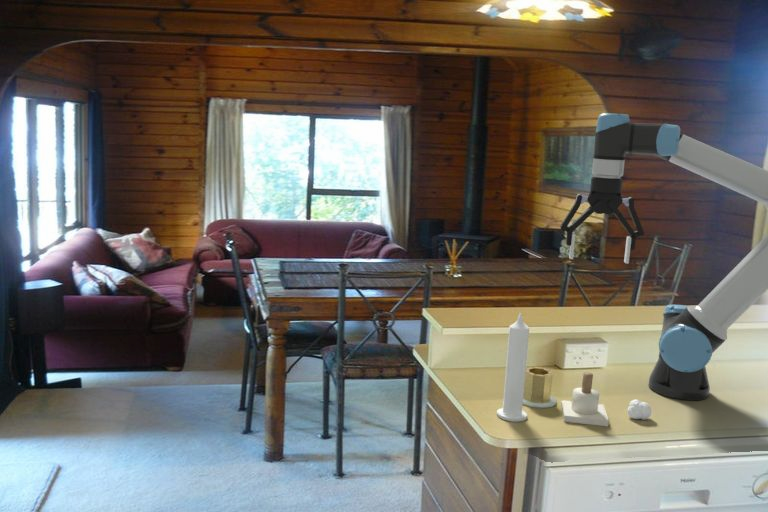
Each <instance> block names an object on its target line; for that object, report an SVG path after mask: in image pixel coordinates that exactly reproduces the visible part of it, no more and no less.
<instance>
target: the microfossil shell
mask: <svg viewBox="0 0 768 512" xmlns="http://www.w3.org/2000/svg"><path fill="white" fill-rule="evenodd" d="M626 412H627V415H628V416H629V417H630V419H634V420H639V419H641V420H643V421H644V420H648V419H649V418H650V417H651V416H652V415H651V414H652V408H651V405H649V403H647V402H646V401H641V400H640V399H632V400H630V402H629V405H628V408H627V411H626Z"/></svg>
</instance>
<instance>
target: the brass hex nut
mask: <svg viewBox="0 0 768 512" xmlns="http://www.w3.org/2000/svg"><path fill="white" fill-rule="evenodd" d="M553 375H554V374H553V371H552V370H550V369H548V368H545V367H539V366H529V367H526V372H525V383H524V395H523V399H525V400H527V401H529V402H532V403H547V402H550V397H551V395H552V384H553Z"/></svg>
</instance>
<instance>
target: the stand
mask: <svg viewBox="0 0 768 512" xmlns="http://www.w3.org/2000/svg"><path fill="white" fill-rule="evenodd" d="M593 378H594V374H593V373H592V372H586V371H585V372H583V373H582V384H581V387H576V388H574V389H573V390H572V400H564V399H563V400H562V399H561V403H560V407H561V413H562V419H563V422H564V423H573V424H582V425H592V426H593V425H594V426H601V427H609V423H610V422H609V421H610V420H609V416H608V414H607V411H606V407H605V404H603V403H602V404H601V403H599V401H600V392H599V391H598V390H596V389H593V388H592V387H593Z"/></svg>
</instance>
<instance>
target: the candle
mask: <svg viewBox="0 0 768 512" xmlns="http://www.w3.org/2000/svg"><path fill="white" fill-rule="evenodd" d="M508 328H509V330H508V339H507V353H506V354H507V355H506V365H505V375H504V376H505V378H504V388H503V389H504V390H503V400H502V401H503V402H502V407H500V408H498V409H497V411H496V415H497V417H498V418H499V419H502V420H504V421H506V422H507V421H508V422H512V423H513V422H515V423H517V422H524V421H526V420H527V419H528V413H527V412H526V411H525V410H523V395H524V383H525V372H526V368H527V360H528V347H529V339H530V338H529V337H530V336H529V335H530V334H529V333H530V327H529V326H528V325H527V324H526V323H525V322H524V320H523V314H522V313H521V312H520V313H518V317H517V320H516V321H515V322H514V323H512V324H510V325H509V327H508Z"/></svg>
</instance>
